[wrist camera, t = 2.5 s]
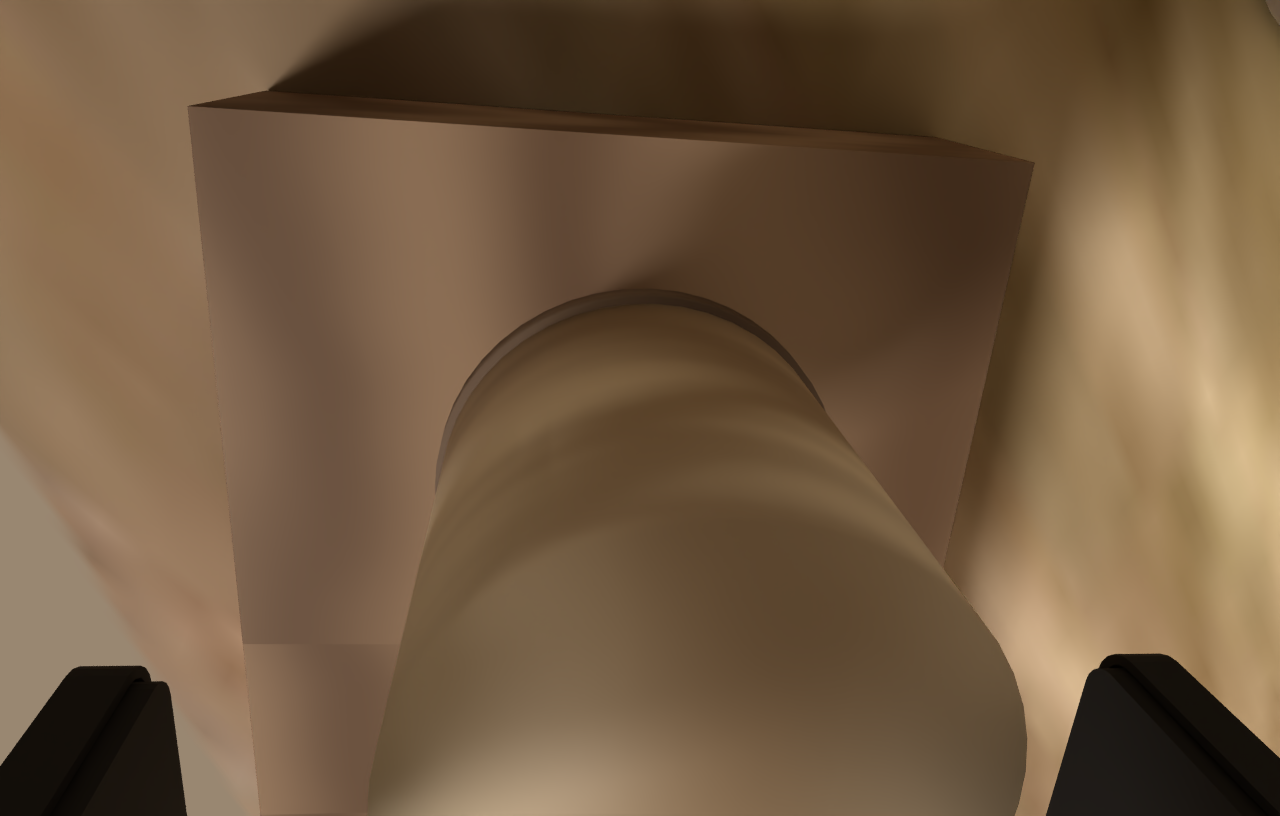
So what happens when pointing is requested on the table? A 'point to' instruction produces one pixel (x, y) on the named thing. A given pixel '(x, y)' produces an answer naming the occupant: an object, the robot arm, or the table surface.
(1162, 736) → the robot arm
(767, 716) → the peg
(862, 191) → the board
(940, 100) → the table surface
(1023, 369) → the table surface
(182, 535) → the table surface
